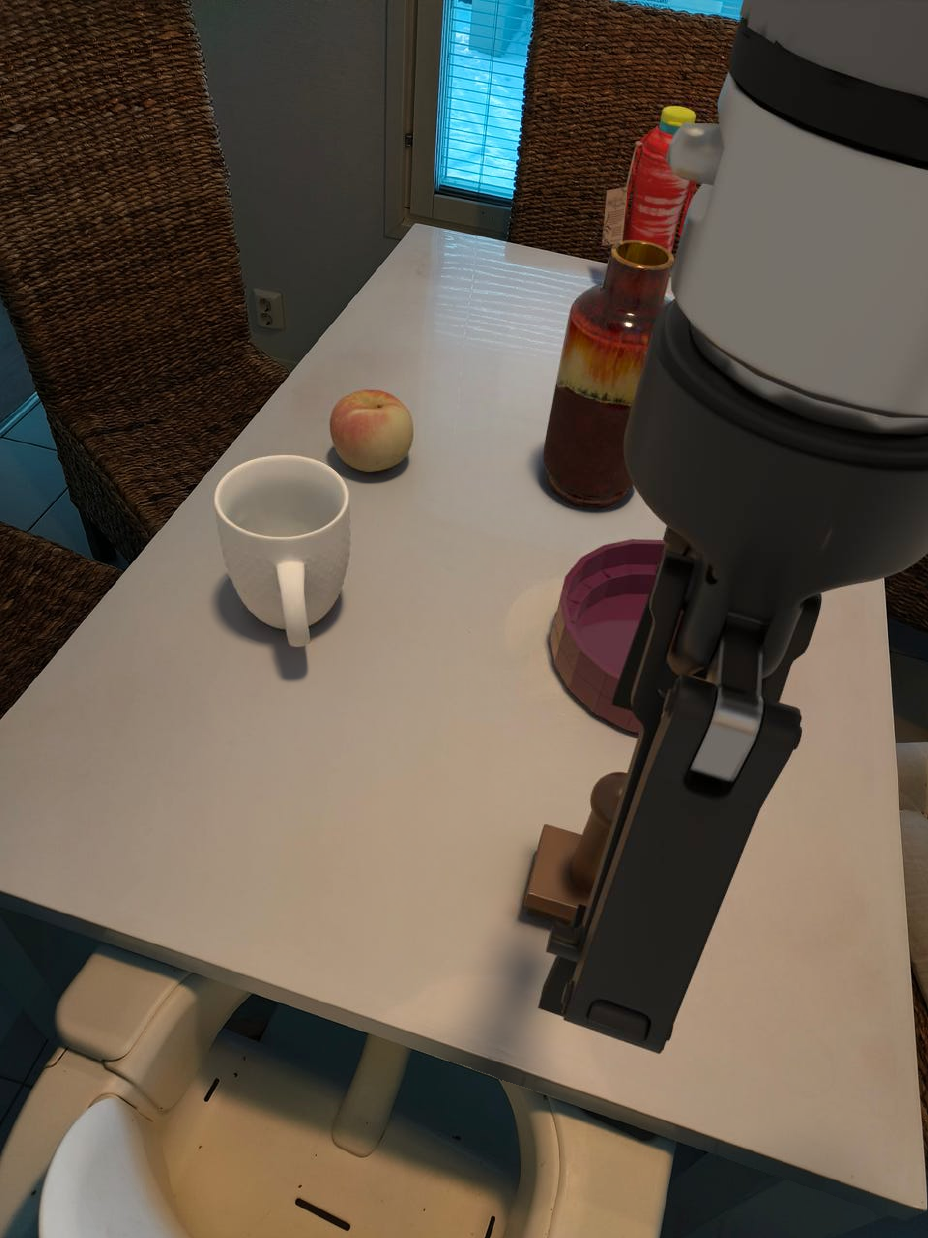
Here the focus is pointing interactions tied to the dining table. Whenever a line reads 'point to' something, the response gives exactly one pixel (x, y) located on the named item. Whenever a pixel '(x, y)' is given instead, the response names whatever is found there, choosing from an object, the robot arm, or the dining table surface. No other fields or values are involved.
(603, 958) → the robot arm
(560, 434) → the vase
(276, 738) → the dining table surface
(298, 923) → the dining table surface
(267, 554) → the mug
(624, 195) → the water bottle
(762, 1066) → the dining table surface
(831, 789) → the dining table surface
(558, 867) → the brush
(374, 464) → the yellow-red round fruit
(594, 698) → the bowl
